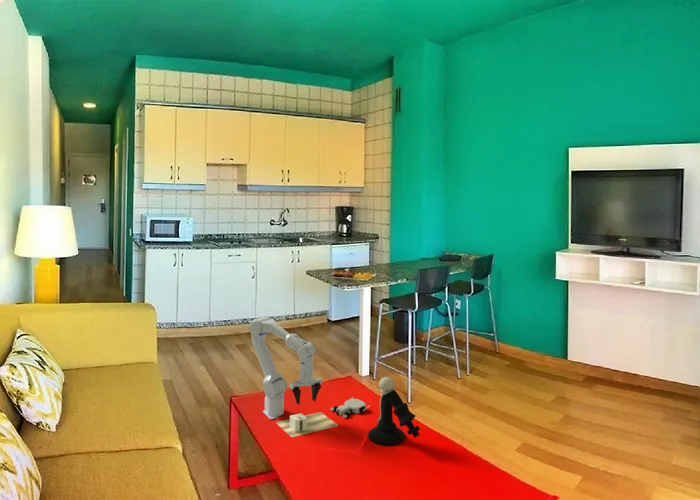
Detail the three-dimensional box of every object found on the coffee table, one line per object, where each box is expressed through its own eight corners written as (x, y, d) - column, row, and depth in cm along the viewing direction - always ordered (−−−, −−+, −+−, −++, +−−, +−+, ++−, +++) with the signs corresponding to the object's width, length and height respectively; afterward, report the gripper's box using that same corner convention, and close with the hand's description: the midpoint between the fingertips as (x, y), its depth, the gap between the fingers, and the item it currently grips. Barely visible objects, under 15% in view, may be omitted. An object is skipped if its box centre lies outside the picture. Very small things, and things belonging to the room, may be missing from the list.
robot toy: (345, 424, 228) (371, 413, 237) (344, 414, 227) (370, 403, 237) (328, 414, 237) (354, 404, 247) (328, 405, 237) (353, 395, 246)
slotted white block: (289, 427, 219) (289, 415, 219) (301, 424, 222) (301, 412, 222) (295, 432, 215) (295, 420, 214) (307, 429, 218) (307, 417, 217)
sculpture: (384, 425, 225) (385, 369, 222) (429, 444, 209) (432, 383, 206) (360, 436, 214) (361, 377, 211) (406, 457, 198) (408, 393, 195)
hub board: (275, 424, 224) (275, 414, 223) (320, 414, 235) (320, 404, 235) (291, 439, 210) (291, 428, 210) (338, 427, 222) (338, 417, 221)
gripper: (295, 376, 216) (294, 408, 218) (325, 371, 224) (325, 401, 225) (287, 371, 222) (287, 402, 224) (317, 366, 230) (317, 396, 231)
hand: (305, 401), depth 225 cm, fingers open, 7 cm apart
